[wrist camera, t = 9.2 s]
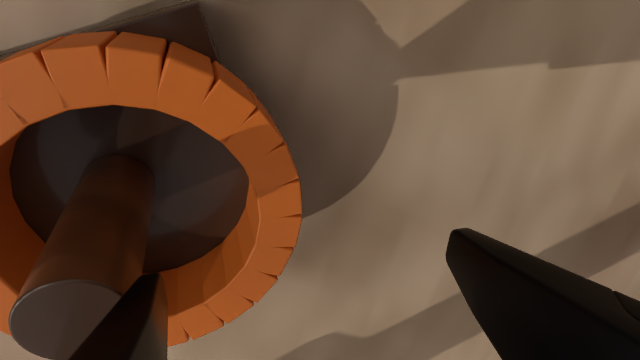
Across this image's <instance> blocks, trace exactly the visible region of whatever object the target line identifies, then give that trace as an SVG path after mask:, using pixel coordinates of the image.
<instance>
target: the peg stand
mask: <svg viewBox="0 0 640 360" xmlns="http://www.w3.org/2000/svg"><path fill="white" fill-rule="evenodd" d="M106 31H116V33H117V35H119V34H120V33H121V32H129V33H135V34H140V35H146V36H152V37H157V38H163V39H165V40H166V41H167V49H166V54H167V51H168V48H169V45H170V43H171V42H176V43H178V44H180V45H183V46H185V47H187V48H189V49H192V50H194V51H196V52H198V53H201V54H203V55H205V56H208V57H209V58H210V60H211V64H212V63H213V62H214V61H217V62H218V63H219V64H221V62H220V60H219V57H218V54H217V52H216V49H215V46H214V44H213V41H212V38H211V36H210V33H209V30H208V27H207V25H206V22H205V19H204V17H203V14H202V11H201V9H200V6H199V3H198V1H197V0H191V1H188V2H184V3H181V4H177V5H174V6H170V7H167V8H163V9H160V10H157V11H153V12H150V13H146V14H143V15H139V16H136V17H133V18H129V19H126V20H122V21H119V22H115V23H112V24H109V25H105V26H102V27H98V28H95V29H91V30H88V31H84V32H81V33H92V32H106ZM78 34H79V33H78ZM26 49H27V48H26ZM23 50H25V49H23ZM20 51H22V50H19V51H16V52H12V53H9V54H5V55H2V56H0V61H1V60H3V59H5V58H7V57H9V56H11V55H14V54H16V53H18V52H20ZM9 171H10V179H11V186H12V194H13V198H14V200H15V202H16V204H17V206H18V208H19V210H20V212H21V214H22V216H23V218H24V220H25V222H26V223H27V224H28V225H29V226H30V227H31V228H32V229H33V231H34V232H35V233H36V234H37V235H38V236H39V237H40V238H41V239H42V240H43V241H44V242H45V243H46V244H45V246H44V248H43V250H42V251H41V253H40V255H39V257H38V259H37V261H36V263H35V265H34V267H33V268H32V270H31V272H30V274H29V276H28V278H27V280H26V282H25V284H24V286H23V287H22V289H21V291H20V293H19V295H18V297H17V299H16V301H15V303H14V305H13V306H12V308H11V311H10V314H9V319H8V324H9V330H10V332H11V335H12V336H13V338H14V339H15V341H16V342H17V343H18V344H19V345H20V346H21V347H23V348H24V349H26V350H27V351H29V352H31V353H33V354H35V355H38V356H41V357H44V358H48V359H53V360H68V359H69V358H70V356H71V355H72V354H73V353H74V352H75V351H76V349H77V348H78V347H79V346H80V345H81V344H82V342H83V341H84V340H85V339H86V338H87V337H88V335H89V334H90V333H91V332H92V331H93V330H94V328H95V327H96V326H97V325H98V324H99V323H100V321H101V320H102V319H103V318H104V317H105V316H106V314H107V313H108V312H109V311H110V310H111V309H112V308H113V306H114V305H115V304H116V303H117V302H118V301H119V299H120V298H121V297H122V296H123V295H124V294H125V292H126V291H127V290H128V289H129V288H130V287H131V285H132V284H133V283H134V282H135V281H136V280H137V278H138V277H139V276H141V275H142V273H156V272H161V271H165V270H170V269H175V268H178V267H181V266H183V265H185V264H188V263H190V262H192V261H194V260H197V259H199V258H201V257H203V256H204V255H206V254H207V253H209V252H210V251H211V250H213V249H214V248H216V247H217V246H218V245H220V244H221V243H222V242H223V241H224V239H225V238H226V237H227V236H228V235H229V234H230V232H231V231H232V230H233V229H234V228H235V227H236V225H237V224H238V222H239V220H240V218H241V215H242V213H243V211H244V209H245V207H246V201H247V194H248V188H249V178H248V175H247V173H246V171H245V169H244V167H243V166H242V164H241V163H240V162H239V161H238V160H237V159H236V158H235V157H234V156H233V154H232V153H231V152H230V151H229V150H228V149H227V148H226V147H225V145H224V144H223V143H221V142H220V141H218V140H217V139H215V138H214V137H212V136H211V135H209V134H208V133H206V132H205V131H203V130H202V129H200V128H199V127H197V126H195V125H194V124H192V123H191V122H189V121H186V120H183V119H180V118H178V117H175V116H172V115H169V114H166V113H163V112H161V111H158V110H155V109H146V108H137V107H128V106H120V105H107V106H99V107H90V108H82V109H73V110H68V111H65V112H63V113H60V114H57V115H55V116H52V117H49V118H47V119H44V120H42V121H39V122H36V123H34V124H31V125H29V126H28V127H26V128H25V129H24V130H23V132H22V133H21V135H20V136H19V138H18V139H17V141H16V143H15V148H14V152H13V156H12V160H11V165H10V169H9Z"/></svg>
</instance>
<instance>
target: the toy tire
mask: <svg viewBox="0 0 640 360" xmlns="http://www.w3.org/2000/svg"><path fill="white" fill-rule="evenodd" d="M166 49H167V41H166V40H165V39H163V38H157V37H152V36H146V35H140V34H135V33H129V32H121V33H120V34H119V35H117V33H116V31H106V32H92V33H79V34H70V35H68V36H66V37H64V36H61V37H58V38H55V39H52V40H50V41H47V42H44V43H41V44H38V45H36V46H33V47H30V48H27V49H25V50H22V51H20V52H18V53H16V54H14V55H11V56H9V57H7V58H5V59H3V60H1V61H0V331H2V332H4V333H6V334H8V335H10V336H12V335H11V332H10V330H9V324H8V319H9V314H10V311H11V308H12V306H13V305H14V303H15V301H16V299H17V297H18V295H19V293H20V291H21V289H22V287H23V286H24V284H25V282H26V280H27V278H28V276H29V274H30V272H31V270H32V268H33V267H34V265H35V263H36V261H37V259H38V257H39V255H40V253H41V251H42V250H43V248H44V246H45V244H46V243H45V242H44V241H43V240H42V239H41V238H40V237H39V236H38V235H37V234H36V233H35V232H34V231H33V229H32V228H31V227H30V226H29V225H28V224H27V223H26V222H25V220H24V218H23V216H22V214H21V212H20V210H19V208H18V206H17V204H16V202H15V200H14V198H13V194H12V186H11V179H10V171H9V169H10V165H11V160H12V156H13V152H14V148H15V143H16V141H17V139H18V138H19V136H20V135H21V133H22V132H23V130H24V129H25V128H26V127H28V126H29V125H31V124H34V123H36V122H39V121H42V120H44V119H47V118H49V117H52V116H55V115H57V114H60V113H63V112H65V111H68V110H73V109H82V108H90V107H99V106H107V105H120V106H128V107H137V108H146V109H155V110H158V111H161V112H163V113H166V114H169V115H172V116H175V117H178V118H180V119H183V120H186V121H189V122H191V123H192V124H194V125H195V126H197V127H199V128H200V129H202V130H203V131H205V132H206V133H208V134H209V135H211V136H212V137H214V138H215V139H217V140H218V141H220V142H221V143H223V144H224V145H225V147H226V148H227V149H228V150H229V151H230V152H231V153H232V154H233V156H234V157H235V158H236V159H237V160H238V161H239V162H240V163H241V164H242V166H243V167H244V169H245V171H246V173H247V175H248V178H249V188H248V194H247V201H246V207H245V209H244V211H243V213H242V215H241V218H240V220H239V222H238V224H237V225H236V227H235V228H234V229H233V230H232V231H231V232H230V234H229V235H228V236H227V237H226V238H225V239H224V241H223V242H222V243H221V244H220V245H218V246H217V247H216V248H214V249H213V250H211V251H210V252H209V253H207V254H206V255H204V256H203V257H201V258H199V259H197V260H194V261H192V262H190V263H188V264H185V265H183V266H181V267H178V268H175V269H170V270H165V271H161V272H159V273H161V275H162V277H163V282H164V286H165V291H166V296H167V301H168V342H167V347H169V346H172V345H176V344H180V343H184V342H187V341H188V340H189V336H190V337H191V338H192V339H193V340H194V339H196V338H199V337H201V336H203V335H205V334H207V333H209V332H212V331H214V330H216V329H218V328H220V327H223V326H224V321H225V322H226V323H229V322H231V321H232V320H234V319H235V318H236V317H238V316H239V315H241V314H242V313H243V312H245V311H246V310H248V309H249V308H250V307H252V306H253V305H254V303H253V301H254V302H258V301H259V300H260V299H261V298H262V297H263V296H264V294H265V293H266V292H267V291H268V290H269V289H270V288H271V287H272V286H273V285H274V283H275V282H276V281H277V280H278V278H277V276H279V275H281V273H282V271H283V269H284V267H285V265H286V264H287V262H288V260H289V258H290V256H291V254H292V252H293V247H295V246H296V243H297V238H298V234H299V230H300V225H301V221H302V216H301V213H302V211H303V210H302V197H301V183H300V181H299V179H298V178H299V175H298V172H297V169H296V167H295V164H294V162H293V159H292V157H291V154H290V152H289V149H288V146H287V145H286V143H285V141H284V139H283V137H282V136H281V134H280V132H279V130H278V128H277V127H276V125H275V123H274V121H273V120H272V118H271V116H270V114H269V113H268V111H267V110H266V109H265V108H264V106H263V105H262V104H261V102H260V101H259V100H258V98H257V97H256V96H255V94H254V93H253V92H252V91H251V89H250V88H247V86H246V84H245V83H244V82H243V81H241V80H240V79H239V78H237V77H236V76H235V75H234V74H232V73H231V72H230V71H228V70H227V69H226V68H225V67H223V66H222V65H221V64H219V63H218V62H217V61H214V62H213V63H212V64H211V60H210V58H209V57H208V56H205V55H203V54H201V53H198V52H196V51H194V50H192V49H189V48H187V47H185V46H183V45H180V44H178V43H176V42H171V43H170V45H169V48H168V51H167V54H166ZM143 274H149V273H142V275H143ZM12 337H13V336H12Z"/></svg>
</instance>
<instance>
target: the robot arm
mask: <svg viewBox="0 0 640 360" xmlns="http://www.w3.org/2000/svg"><path fill="white" fill-rule="evenodd" d="M446 261H447V264H448V266H449V268H450V270H451V272H452V274H453V276H454V278H455V280H456V282H457V284H458V286H459V288H460V290H461V292H462V294H463V296H464V298H465V300H466V302H467V304H468V306H469V307H470V309H471V311H472V313H473V315H474V316H475V318H476V319H477V321H478V323H479V324H480V326H481V327H482V329H483V331H484V332H485V334H486V335H487V337H488V338H489V340H490V341H491V343H492V345H493V346H494V348H495V349H496V351H497V352H498V354H499V356H500V357H501V359H502V360H640V301H638V300H636V299H633V298H631V297H628V296H626V295H624V294H621V293H619V292H617V291H612V290H611V289H610V288H607V287H605V286H603V285H600V284H598V283H596V282H593V281H591V280H589V279H586V278H584V277H582V276H579V275H577V274H575V273H572V272H570V271H568V270H565V269H563V268H561V267H558V266H556V265H554V264H551V263H549V262H547V261H544V260H542V259H540V258H537V257H535V256H533V255H530V254H528V253H525V252H523V251H521V250H518V249H516V248H514V247H511V246H509V245H507V244H504V243H502V242H500V241H497V240H495V239H493V238H490V237H488V236H486V235H483V234H481V233H479V232H476V231H474V230H472V229H469V228H460V229H455V230H453V231H452V232H451V234H450V237H449V242H448V246H447V251H446ZM167 342H168V301H167V296H166V291H165V286H164V282H163V277H162V275H161V273H159V272H156V273H149V274H143V275H141V276H139V277H138V278H137V280H136V281H135V282H134V283H133V284H132V285H131V287H130V288H129V289H128V290H127V291H126V292H125V294H124V295H123V296H122V297H121V298H120V299H119V301H118V302H117V303H116V304H115V305H114V306H113V308H112V309H111V310H110V311H109V312H108V313H107V314H106V316H105V317H104V318H103V319H102V320H101V321H100V323H99V324H98V325H97V326H96V327H95V328H94V330H93V331H92V332H91V333H90V334H89V335H88V337H87V338H86V339H85V340H84V341H83V342H82V344H81V345H80V346H79V347H78V348H77V349H76V351H75V352H74V353H73V354H72V355H71V356H70V358H69V359H68V360H167Z"/></svg>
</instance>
